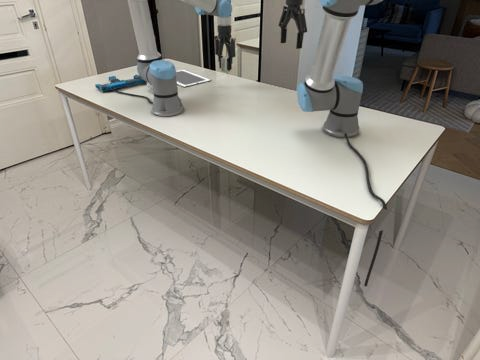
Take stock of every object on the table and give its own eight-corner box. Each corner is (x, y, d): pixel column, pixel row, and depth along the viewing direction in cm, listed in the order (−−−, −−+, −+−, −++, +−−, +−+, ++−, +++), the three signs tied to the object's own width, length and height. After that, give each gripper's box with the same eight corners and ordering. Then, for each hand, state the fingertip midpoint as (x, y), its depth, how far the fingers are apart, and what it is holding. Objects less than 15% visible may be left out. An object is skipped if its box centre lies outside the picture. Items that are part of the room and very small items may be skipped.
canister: (230, 69, 196) (230, 56, 192) (230, 72, 192) (229, 58, 188) (221, 69, 197) (221, 56, 193) (220, 71, 192) (220, 58, 188)
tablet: (157, 75, 221) (157, 74, 221) (183, 69, 232) (183, 69, 232) (184, 87, 201) (183, 86, 200) (211, 80, 212) (211, 79, 211)
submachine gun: (140, 69, 223) (158, 75, 206) (141, 75, 225) (159, 81, 208) (87, 79, 204) (103, 87, 188) (89, 85, 206) (105, 94, 190)
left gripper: (242, 25, 179) (242, 70, 192) (215, 22, 188) (217, 65, 201) (233, 27, 174) (234, 73, 187) (206, 24, 183) (209, 67, 196)
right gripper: (272, -7, 158) (270, 41, 169) (304, -3, 139) (299, 51, 151) (286, -8, 161) (283, 40, 172) (318, -3, 142) (313, 50, 153)
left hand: (225, 68), depth 194 cm, fingers closed on canister, 5 cm apart
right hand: (290, 45), depth 161 cm, fingers open, 13 cm apart
